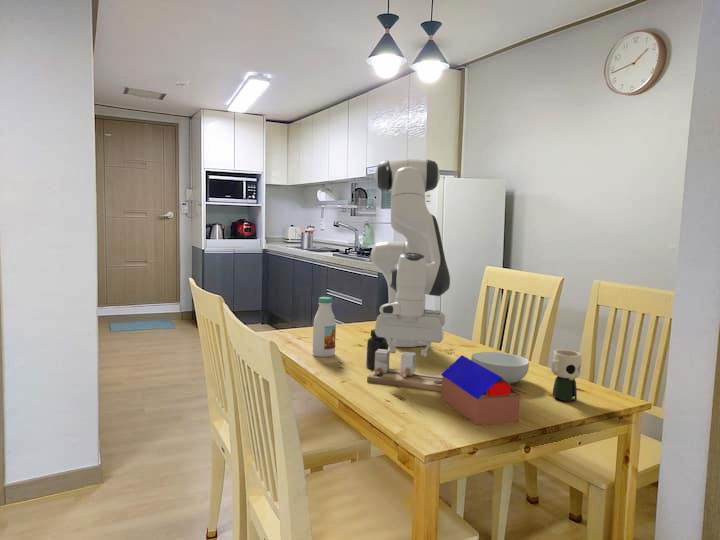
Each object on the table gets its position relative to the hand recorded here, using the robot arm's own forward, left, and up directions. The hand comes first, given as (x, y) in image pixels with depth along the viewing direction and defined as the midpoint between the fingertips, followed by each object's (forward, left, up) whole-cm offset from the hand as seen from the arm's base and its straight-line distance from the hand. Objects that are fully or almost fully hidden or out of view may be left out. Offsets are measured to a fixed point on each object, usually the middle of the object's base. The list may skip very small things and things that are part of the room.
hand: (408, 354), depth 158 cm
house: (+17, +22, -8) cm, 29 cm away
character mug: (-1, +44, -8) cm, 45 cm away
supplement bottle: (-10, -12, -8) cm, 17 cm away
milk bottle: (-17, -33, -8) cm, 38 cm away
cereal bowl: (-11, +26, -8) cm, 29 cm away
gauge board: (+1, +3, -8) cm, 8 cm away
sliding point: (+1, 0, -6) cm, 6 cm away
